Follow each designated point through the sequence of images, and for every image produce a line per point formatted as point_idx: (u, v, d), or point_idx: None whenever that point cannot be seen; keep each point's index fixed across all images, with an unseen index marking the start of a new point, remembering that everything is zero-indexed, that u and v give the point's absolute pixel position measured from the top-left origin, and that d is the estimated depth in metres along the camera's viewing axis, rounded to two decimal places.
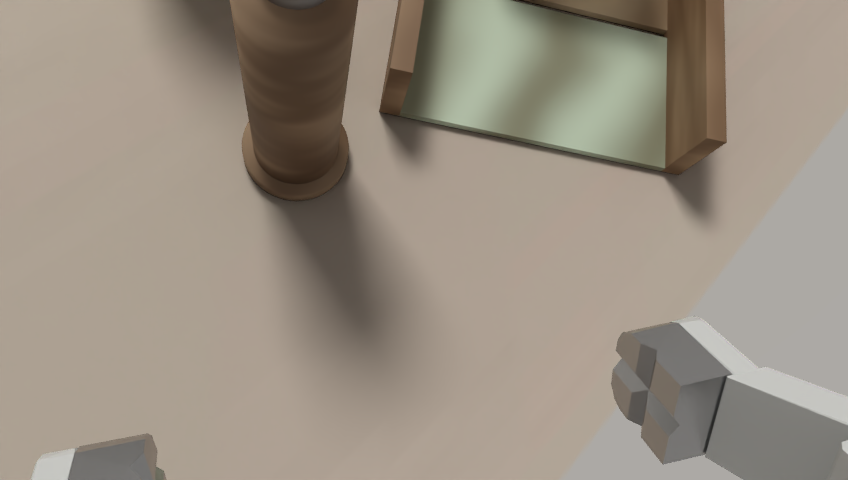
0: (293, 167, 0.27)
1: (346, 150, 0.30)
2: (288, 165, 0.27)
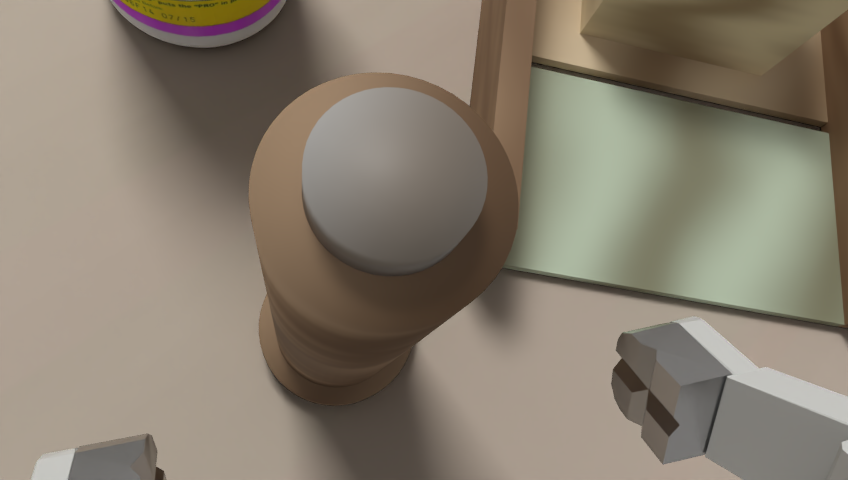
0: (340, 382, 0.18)
1: None
2: (334, 381, 0.17)
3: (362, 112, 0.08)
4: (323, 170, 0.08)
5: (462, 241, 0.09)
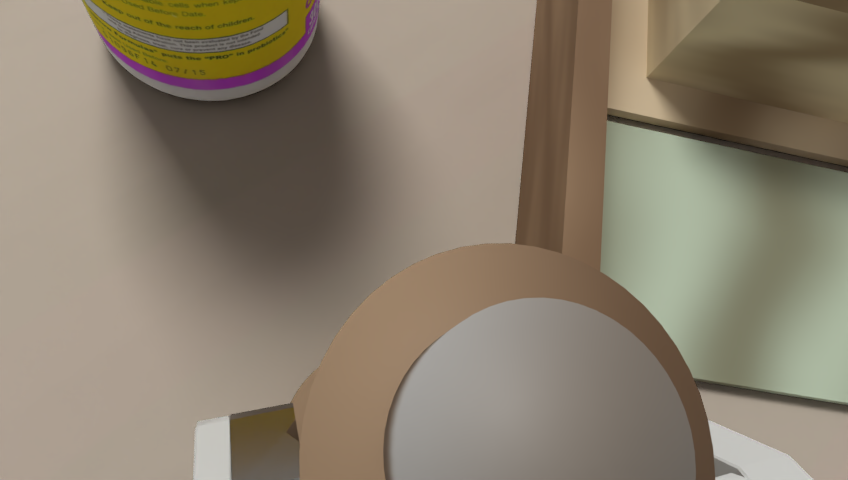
0: None
1: None
2: None
3: (489, 346, 0.05)
4: (431, 461, 0.05)
5: None
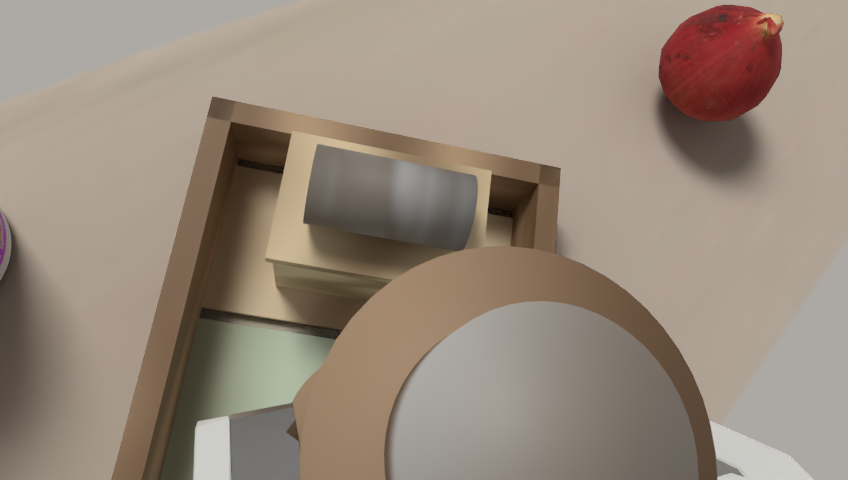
0: None
1: None
2: None
3: (491, 351, 0.05)
4: (433, 467, 0.05)
5: None
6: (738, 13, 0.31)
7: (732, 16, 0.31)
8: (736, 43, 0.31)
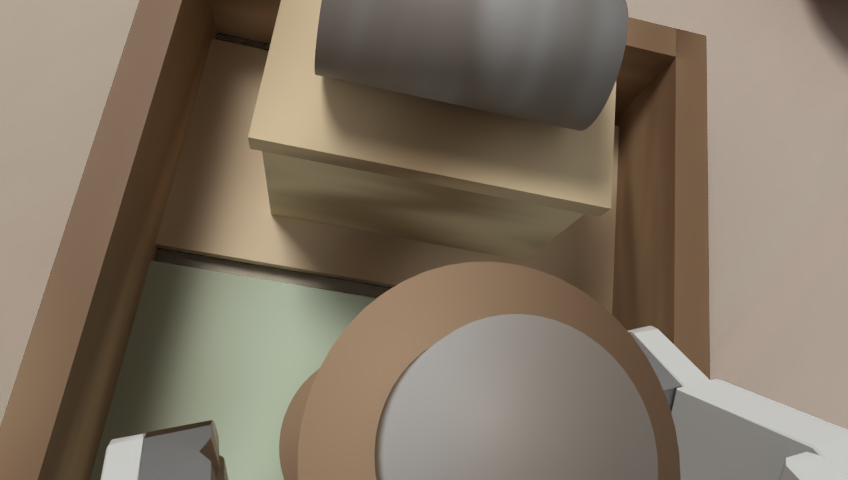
0: None
1: None
2: None
3: (471, 359, 0.06)
4: (417, 464, 0.05)
5: None
6: None
7: None
8: None
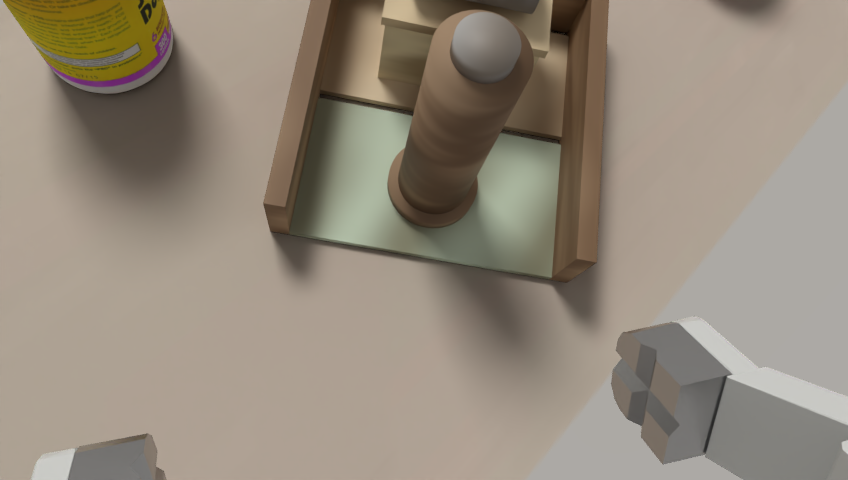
0: (439, 201, 0.32)
1: (475, 184, 0.34)
2: (435, 200, 0.31)
3: (474, 20, 0.22)
4: (461, 40, 0.22)
5: (511, 72, 0.23)
6: None
7: None
8: None
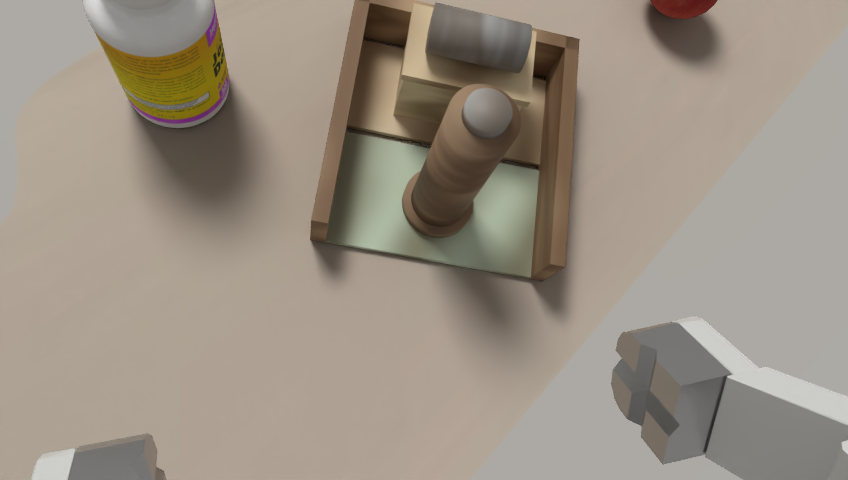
0: (444, 217, 0.41)
1: (472, 203, 0.43)
2: (442, 216, 0.40)
3: (479, 94, 0.31)
4: (470, 108, 0.31)
5: (505, 130, 0.32)
6: None
7: None
8: None
